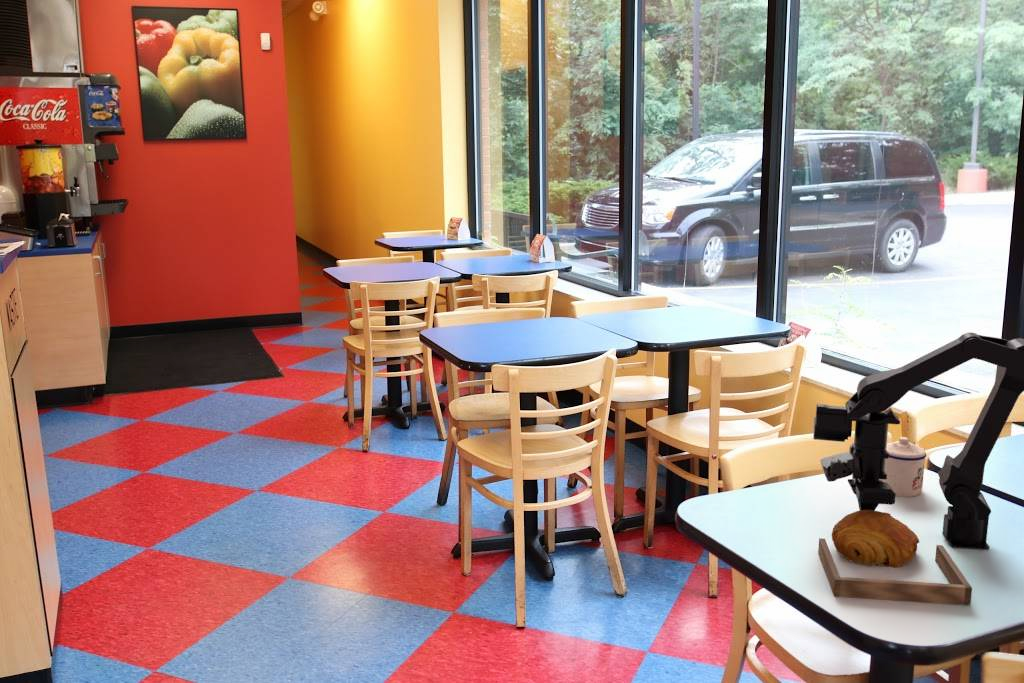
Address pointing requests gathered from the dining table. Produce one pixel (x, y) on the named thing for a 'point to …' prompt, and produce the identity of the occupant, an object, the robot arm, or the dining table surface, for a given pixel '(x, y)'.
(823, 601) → the dining table surface
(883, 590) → the walnut u-shaped frame
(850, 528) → the croissant
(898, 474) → the teacup with lid
